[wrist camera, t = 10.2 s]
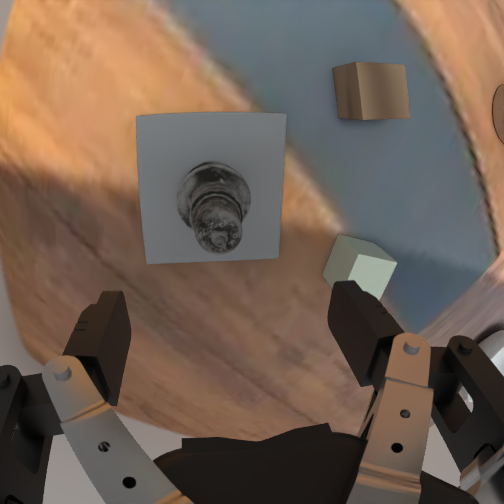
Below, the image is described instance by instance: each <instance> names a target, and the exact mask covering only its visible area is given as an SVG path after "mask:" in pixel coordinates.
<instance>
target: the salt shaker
mask: <svg viewBox="0 0 504 504" xmlns="http://www.w3.org/2000/svg"><path fill="white" fill-rule="evenodd" d="M176 203H177V209H178V212H179V215H180V217H181V219H182V220H183V221H184V223H185V224H186V225H187V226H188V227H189V228H191V229H192V230H194V231H195V237H196V239H197V242H198V243H199V245H200V246H201V247H202V248H203V249H204V250H206V251H207V252H209V253H212V254H218V255H221V254H226V253H229V252H231V251H232V250H234V249H235V248H236V247H237V246H238V245H239V243H240V241H241V238H242V233H243V230H242V225H241V224H242V222H243V221H244V220H245V218H246V216H247V214H248V212H249V210H250V204H251V194H250V189H249V187H248V184H247V182H246V181H245V179H244V178H243V177H242V175H241V174H239V173H238V172H237V171H236V170H234V169H232V168H231V167H230V166H228V165H226V164H224V163H222V162H216V161H209V162H204V163H201V164H199V165H197V166H196V167H194V168H193V169H192V170H191V171H190V172H189V173H188V175H187V176H186V177H185V178H184V180H183V181H182V182H181V184H180V187H179V189H178V192H177V200H176Z"/></svg>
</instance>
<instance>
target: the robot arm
mask: <svg viewBox="0 0 504 504" xmlns="http://www.w3.org/2000/svg"><path fill="white" fill-rule="evenodd" d="M493 119H494V124H495V129H496V131H497V134H498V136H499V138H500V140H501V141H502V142H503V143H504V84H503V85H501V86H500V87H499V88H498V90H497V91H496V94H495V97H494V102H493ZM328 325H329V328H330V330H331V332H332V334H333V336H334V338H335V340H336V341H337V343H338V345H339V347H340V349H341V351H342V353H343V354H344V356H345V358H346V360H347V362H348V364H349V366H350V368H351V369H352V371H353V373H354V375H355V377H356V379H357V381H358V383H359V385H360V386H361V387H364V386H369V385H373V387H374V390H373V393H372V395H371V398H370V401H369V404H368V407H367V410H366V413H365V416H364V419H363V422H362V425H361V428H360V430H359V433H358V435H357V436H354V435H351V434H346V433H339V432H332V431H331V429H330V426H329V424H328V423H324V424H319V425H314V426H308V427H302V428H296V429H293V430H290V431H287V432H285V433H282V434H279V435H277V436H274V437H271V438H268V439H266V440H263V441H246V440H237V439H230V438H222V437H209V438H182V448H181V449H176V450H173V451H171V452H168V453H165V454H163V455H161V456H159V457H158V458H156V459H154V460H153V461H152V460H151V459H150V458H149V456H148V455H147V454H146V453H145V452H144V450H143V449H142V448H141V447H140V445H139V444H138V443H137V442H136V440H135V439H134V438H133V436H132V435H131V434H130V432H129V431H128V430H127V428H126V427H125V426H124V424H123V423H122V421H121V420H120V419H119V417H118V416H117V415H116V413H115V412H114V410H113V409H112V407H111V406H117V403H118V398H119V393H120V387H121V382H122V378H123V373H124V368H125V363H126V359H127V354H128V350H129V346H130V341H131V325H130V320H129V316H128V311H127V307H126V302H125V297H124V294H123V292H122V291H103V292H102V293H101V295H100V297H99V300H98V302H97V304H90V305H89V306H88V307H87V308H86V309H85V310H84V311H83V312H82V313H81V315H80V317H79V319H78V323H76V326H75V328H74V331H73V332H72V334H71V336H70V339H69V341H68V343H67V345H66V348H65V350H64V352H63V355H62V356H59V357H56V358H54V359H52V360H51V361H49V362H48V363H47V364H46V365H45V367H44V368H43V371H42V373H40V374H34V375H28V376H22V375H21V373H20V372H19V370H18V369H17V368H16V367H14V366H12V365H3V366H0V504H42V502H43V494H44V486H45V479H46V473H47V466H48V461H49V455H50V450H51V444H52V439H53V435H60V434H65V436H66V438H67V440H68V442H69V443H70V445H71V447H72V449H73V451H74V453H75V455H76V456H77V458H78V460H79V462H80V464H81V465H82V467H83V469H84V470H85V472H86V474H87V475H88V477H89V479H90V480H91V482H92V483H93V485H94V486H95V488H96V490H97V491H98V493H99V494H100V496H101V497H102V499H103V500H104V502H105V503H106V504H504V376H503V375H502V373H501V372H500V371H499V370H498V368H497V367H496V366H495V365H494V363H493V362H492V361H491V360H490V358H489V357H488V356H487V355H486V354H485V352H484V351H483V350H482V349H481V348H480V346H479V345H478V344H477V343H476V342H475V341H474V340H472V339H470V338H468V337H466V336H461V335H458V336H453V337H452V338H451V339H450V340H449V342H448V345H447V347H430V345H429V343H428V342H427V341H426V340H425V339H424V338H422V337H420V336H418V335H416V334H412V333H405V332H404V331H403V330H402V328H401V327H400V326H399V325H398V323H397V322H396V321H395V320H394V318H393V317H392V316H391V315H390V313H388V311H387V310H386V308H385V307H383V305H382V304H381V302H380V301H379V300H378V299H377V298H376V297H375V296H373V295H372V294H370V293H369V292H367V291H363V290H362V289H361V287H360V286H359V285H358V284H357V283H356V281H355V280H345V281H336V282H335V283H334V285H333V289H332V294H331V300H330V305H329V310H328ZM463 386H464V388H465V389H466V391H467V392H468V394H469V395H470V397H471V398H472V400H473V411H472V413H471V412H470V410H469V409H468V407H467V406H466V404H465V402H464V401H463V399H462V398H461V396H460V395H459V391H460V390H461V388H462V387H463ZM431 417H432V419H433V421H434V423H435V424H436V426H437V428H438V430H439V432H440V434H441V436H442V437H443V439H444V441H445V443H446V445H447V447H448V449H449V451H450V453H451V454H452V457H453V459H454V460H455V463H456V465H457V467H458V469H459V471H460V473H461V476H460V486H459V487H458V488H457V487H455V486H453V485H451V484H449V483H447V482H444V481H442V480H440V479H438V478H436V477H434V476H432V475H430V474H428V473H426V472H424V471H422V470H421V469H422V465H423V460H424V455H425V449H426V444H427V438H428V431H429V425H430V418H431ZM13 433H14V434H13ZM12 437H13V438H12Z"/></svg>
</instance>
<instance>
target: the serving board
mask: <svg viewBox="0 0 504 504" xmlns="http://www.w3.org/2000/svg"><path fill="white" fill-rule="evenodd" d="M285 137H286V114H279V113H256V112H192V113H170V114H154V115H142V116H136V139H137V164H138V181H139V195H140V207H141V218H142V229H143V238H144V247H145V255H146V263H147V264H161V263H186V262H210V261H234V260H256V259H278V257H279V242H280V227H281V211H282V195H283V177H284V158H285ZM209 161H216V162H222V163H224V164H226V165H228V166H230V167H231V168H232V169H234V170H236V171H237V172H238V173H239V174H241V175H242V177H243V178H244V179H245V181H246V182H247V184H248V187H249V189H250V194H251V204H250V210H249V212H248V214H247V216H246V218H245V220H244V221H243V222H242V224H241V225H242V230H243V233H242V238H241V241H240V243H239V245H238V246H237V247H236V248H235V249H234V250H232V251H231V252H229V253H226V254H221V255H218V254H212V253H209V252H207V251H206V250H204V249H203V248H202V247H201V246H200V245H199V243H198V242H197V239H196V237H195V231H194V230H192V229H191V228H189V227H188V226H187V225H186V224H185V223H184V221H183V220H182V219H181V217H180V215H179V212H178V209H177V203H176V200H177V192H178V189H179V187H180V184H181V182H182V181H183V180H184V178H185V177H186V176H187V175H188V173H189V172H190V171H191V170H192V169H193V168H194V167H196V166H197V165H199V164H201V163H204V162H209Z"/></svg>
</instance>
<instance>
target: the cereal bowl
mask: <svg viewBox="0 0 504 504" xmlns="http://www.w3.org/2000/svg"><path fill="white" fill-rule="evenodd" d="M478 345H479V346H480V348H481V349H482V350H483V351H484V352H485V354H486V355H487V356H488V357H489V358H490V360H491V361H492V362H493V363H494V365H495V366H496V367H497V368H498V370H499V371H500V372H501V373H502V375H503V376H504V330H501V331H497V332H496V333H494V334H492V335H490V336H489V337H488V338H486V339H484V340H483V341H481V342H480V343H479V344H478ZM461 391H462V393H463V395H464V396H465V398H466V399H467V400H468V401H469V402H473V400H472V398H471V397H470V395H469V394H468V392H467V391H466V389H465V388H464V386H463V387H462V388H461Z"/></svg>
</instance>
